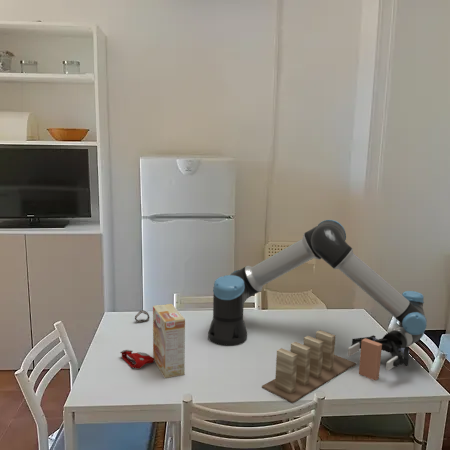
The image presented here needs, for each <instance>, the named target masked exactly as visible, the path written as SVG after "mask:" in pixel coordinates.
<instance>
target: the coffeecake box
mask: <svg viewBox="0 0 450 450" xmlns="http://www.w3.org/2000/svg"><path fill="white" fill-rule="evenodd" d="M152 324H153V325H152V345H153V346H152V347H153V349H152V353H153V355H152V357H153V358H154V363H155V364H156V366H157V368H158V369H159V371H160V373H161V374H162V376H163V378H164V379H169V378H174V377H175V378H176V377H180V376H184V375H185V367H186V365H185V363H186V362H185V358H186V356H185V355H186V354H185V353H186V351H185V350H186V347H185V346H186V343H185V342H186V319H185V317H184V316H183V315H182V314H181V313H180V311H179V310H178V309H177V308H176V307H175V306H174V305H173V303H167V304H158V305H157V304H156V305H152Z"/></svg>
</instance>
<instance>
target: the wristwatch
mask: <svg viewBox="0 0 450 450" xmlns="http://www.w3.org/2000/svg"><path fill="white" fill-rule="evenodd" d="M141 314H144V315H146V316H147V318H146V319H144V320H143V319H142V320H140V319H137V318H138V317H139V316H140V315H141ZM134 320H135V321H136V322H137V323H140V324H142V323H147V322H148V321H149V320H150V314H149V312H148V311H146V310H144V309H141V310H139V311H138V313H137V314H135V316H134Z"/></svg>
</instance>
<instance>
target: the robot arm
mask: <svg viewBox="0 0 450 450" xmlns="http://www.w3.org/2000/svg"><path fill="white" fill-rule="evenodd" d="M302 236H303V237H302V239H300V240H297V241H296V242H294V243H293V244H291V245H289V246H286V247H285V248H284V249H282V250H280V251H279V252H277V253H275V254H273V255H271V256H270V257H267V258H266V259H264V260H262V261H261V262H259V263H257V264H255V265H254V266H251V265H246V266H245V267H242V268H239V269H236V270H235V271H233V272H231V273H230V274H229V275H227V274H226V275H223V276H219V277H218V278H216V279H215V280H214V283H213V290H212V293H213V296H212V297H213V301H212V302H213V303H212V305H213V307H212V314H213V315H212V321H211V322H210V325H209V328H208V331H207V335H208V336H207V338H208V340H209V341H210V342H211V343H213V344H215V345H219V346H220V345H221V346H225V347H226V346H227V347H228V346H238V345H241V344H244V343H246V341H247V340H248V331H247V328H246V324H245V320H244V306H245V305H244V304H245V302H247V300H248V299H249V298H251V297H253V296H254V295H256V294H258V293H260V292H262V290H263V286H265V285H267V284H268V283H270V282H272V281H275V280H276V279H278V278H279V277H282V276H284V275H285V274H287V273H289V272H291V271H293V270H294V269H296V268H299V267H300V266H302V265H304V264H305V263H308V262H310V261H311V260H313V259H315V260H321V259H322V260H323V261H325V263H326V264H328V265H329V266H330V267H331V268H332V269H333V270H339V271H340V272H341V273H343V275H345V276H346V277H347V278H349V279H350V280H351V281H352V282H353V283H354V284H355V285H356V286H358V287H359V288H360V289H361V290H362V291H364V292H365V294H367V295H368V296H369V297H370V298H372V300H374V302H376V303H377V304H378V305H380V306H381V307H382V308H383V309H384V310H385V311H386V312H387V313H388V314H390V315H391V316H392V317H393V318H394V319H396V321H397V322H398V326H397V327H396V328H394V329H392V330H391V331H389V332H386V334H384V335H383V336H382V338H376V335H374V334H373V335H370V336H365V337H356V338H352V340H351V345H350V346H349V347H348V348H347V356H348V357H351V356H353V355H355V354H356V353H357V352H359V351H361V341H362V340H363V339H365V338H366V339H369V340H372V341H375V342H378V343H381V344H382V351H383V352H387V353H389V354H391V356H392V358H391V359H389V360H387V362H386V365H385V371H386V372H389V371H390V370H391V369H393V368H395V367H396V368H397V367H399V366H402V365H404V366H405V367H408V366H409V361H410V357H409V355H410V346H411V345H413V344H415V343H417V342H419V341H420V340H421V339H422V337H423V336H424V334H425V331H426V329H427V323H428V321H427V317H426V316H425V311H424V303H425V302H424V300H425V299H424V297H425V296H424V294H422V293H421V292H418V291H414V290H406V291H404V292H402V294H401V292H399V291H398V290H397V289H396V288H394V286H392V285H391V284H390V283H389V282H388V281H386V280H385V279H384V278H383V277H382V276H381V275H379V274H378V273H377V272H376V271H374V269H373V268H372V267H370V266H369V265H368V264H367V263H366V262H364V261H363V260H362V259H361V258H360V257H358V256H357V255H356V254H355V253H354V248H352V247H351V246H350V245H349V244H348V243H347V242H346V240H347V233H346V230H345V227H344V226H343V225H342V224H341V223H340V222H338V221H337V220H334V219H325V220H322V221H320V222H319V223H318V224H317V226H315V227H313V228H311V229H309V230H308V231H306V232H304V233H303V235H302ZM401 353H402V354H401Z"/></svg>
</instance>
